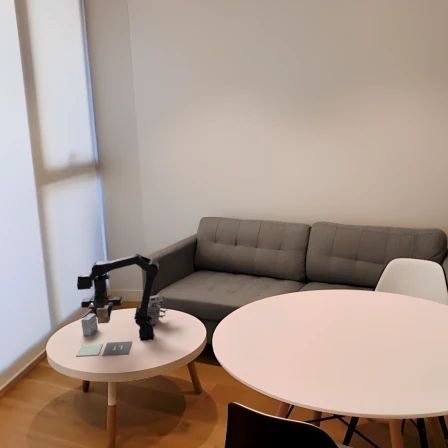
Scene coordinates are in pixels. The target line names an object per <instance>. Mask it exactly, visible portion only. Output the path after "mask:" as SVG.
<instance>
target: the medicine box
mask: <svg viewBox="0 0 448 448" xmlns="http://www.w3.org/2000/svg"><path fill="white" fill-rule="evenodd" d="M98 327H99V326H98V319H97V317H96V315H95V313H87V314H86V316H84V317H83V318H82V319H81V328H82V335H83V336H92V335H94V334H95V332H96V331H97V330H98V329H99V328H98Z"/></svg>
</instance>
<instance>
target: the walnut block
mask: <svg viewBox="0 0 448 448" xmlns="http://www.w3.org/2000/svg"><path fill="white" fill-rule="evenodd" d="M108 306H109V304H108V305H105V307H104V308H97V317H96V318H97V325H98V324H109V323H110V320H111V317H110V318H109V309H108Z"/></svg>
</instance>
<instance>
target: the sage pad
mask: <svg viewBox="0 0 448 448" xmlns="http://www.w3.org/2000/svg"><path fill="white" fill-rule="evenodd" d="M102 347H103V343H102V344H85V345H81V346H80V348H79V350H78V352H77V354H76V357H90V356H91V357H92V356H99V355H100V352H101V350H102Z"/></svg>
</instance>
